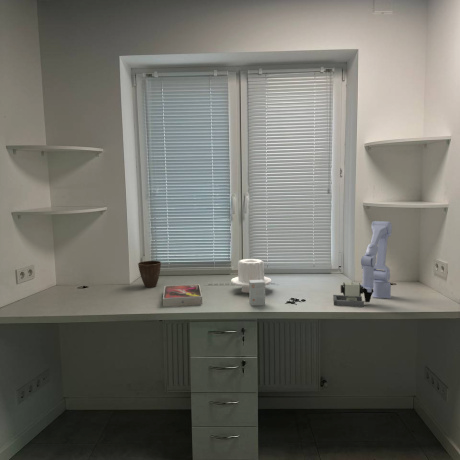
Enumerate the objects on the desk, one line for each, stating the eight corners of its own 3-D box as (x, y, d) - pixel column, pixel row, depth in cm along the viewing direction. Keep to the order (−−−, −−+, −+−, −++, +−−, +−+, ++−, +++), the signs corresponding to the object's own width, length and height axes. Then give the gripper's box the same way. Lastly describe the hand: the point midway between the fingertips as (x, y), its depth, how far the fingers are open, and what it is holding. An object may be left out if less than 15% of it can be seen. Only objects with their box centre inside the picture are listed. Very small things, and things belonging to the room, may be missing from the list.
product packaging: (199, 292, 242) (199, 284, 242) (202, 305, 215) (202, 296, 214) (164, 293, 240) (164, 285, 239) (163, 307, 212) (162, 298, 211)
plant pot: (135, 288, 250) (134, 264, 249) (144, 283, 265) (143, 260, 263) (157, 289, 248) (156, 265, 246) (165, 283, 262) (164, 260, 261)
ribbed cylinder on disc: (226, 294, 234) (225, 263, 232) (237, 284, 258) (237, 256, 255) (266, 297, 226) (266, 265, 224) (274, 286, 250) (274, 258, 248)
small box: (263, 301, 218) (263, 279, 216) (265, 305, 211) (265, 282, 210) (249, 302, 217) (248, 279, 215) (250, 305, 210) (250, 282, 209)
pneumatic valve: (363, 304, 209) (363, 283, 208) (340, 303, 212) (341, 282, 210) (361, 301, 215) (362, 280, 213) (340, 301, 217) (340, 280, 216)
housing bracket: (361, 300, 218) (361, 296, 217) (363, 306, 206) (364, 302, 206) (333, 298, 221) (333, 294, 221) (333, 305, 209) (334, 300, 209)
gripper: (358, 274, 217) (358, 297, 219) (361, 280, 203) (361, 305, 205) (372, 274, 216) (371, 298, 217) (375, 280, 202) (375, 306, 203)
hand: (367, 301), depth 211 cm, fingers closed, pressing on pneumatic valve
